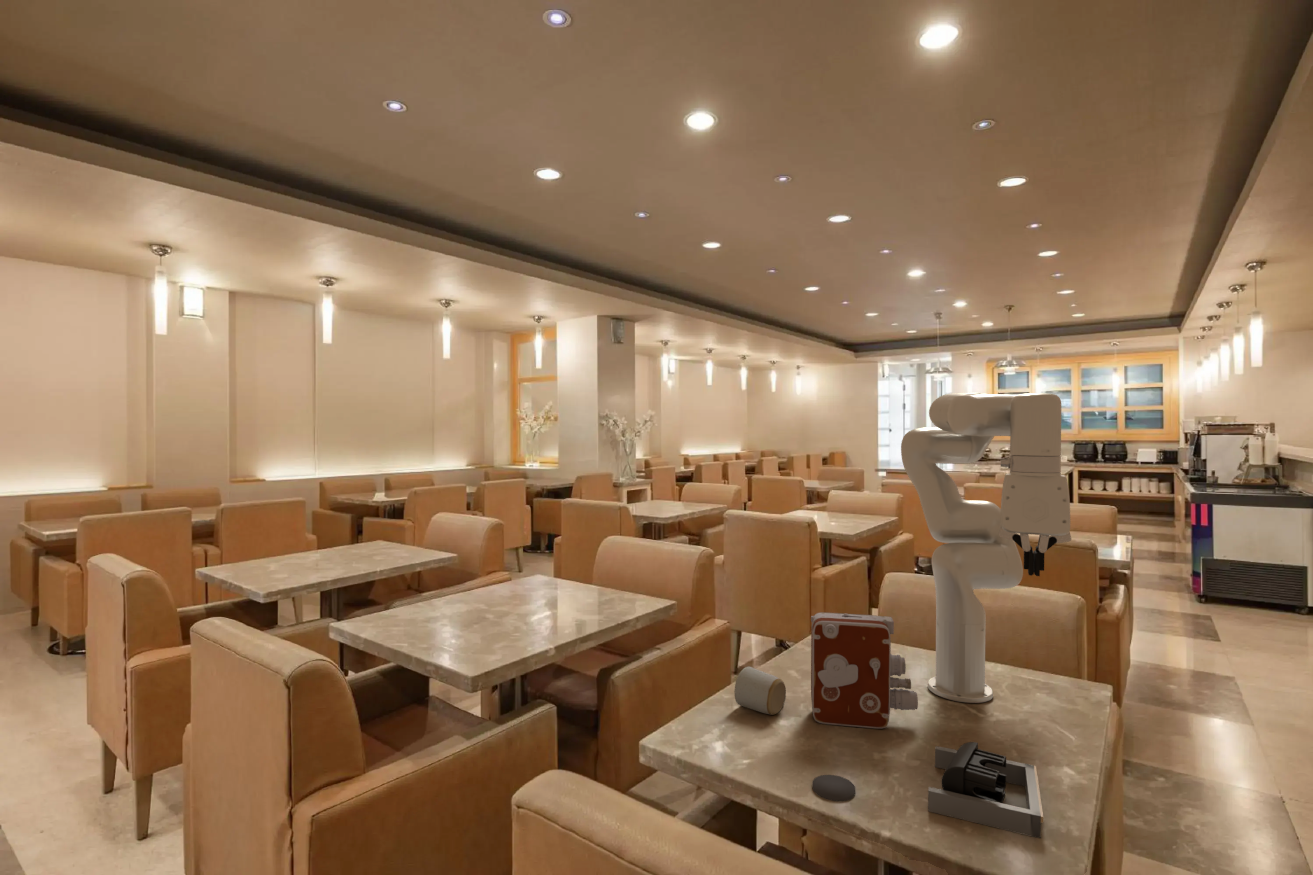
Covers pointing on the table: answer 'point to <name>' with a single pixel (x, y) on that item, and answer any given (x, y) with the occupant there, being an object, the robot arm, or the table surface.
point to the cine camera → (856, 671)
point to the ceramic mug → (759, 691)
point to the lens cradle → (990, 810)
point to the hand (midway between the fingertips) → (1033, 574)
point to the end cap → (975, 774)
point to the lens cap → (833, 788)
